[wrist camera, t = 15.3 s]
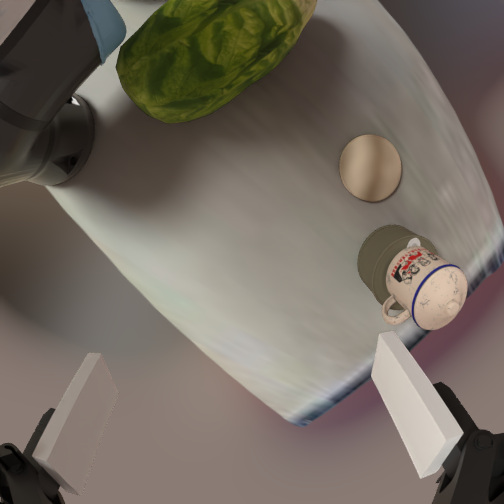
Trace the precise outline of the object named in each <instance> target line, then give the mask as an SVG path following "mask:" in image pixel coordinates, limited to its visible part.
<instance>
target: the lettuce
mask: <svg viewBox="0 0 504 504" xmlns="http://www.w3.org/2000/svg"><path fill="white" fill-rule="evenodd" d="M316 3H317V0H169V1H167V2H166V3H165V4H164V5H163V6H161V7H160V8H159V9H158V10H156V11H155V12H154V13H153V14H152V15H151V16H150V17H149V18H148V20H147V21H146V22H145V23H144V24H143V25H142V26H141V27H140V28H139V29H138V31H136V32H135V33H134V34H133V35H132V36H131V37H130V38H129V39H128V40H127V41H126V42H125V43H124V44H123V45H122V46H121V47H120V51H119V55H118V59H117V64H116V70H117V73H118V76H119V79H120V82H121V85H122V88H123V89H124V91H125V92H126V94H127V95H128V96H129V97H130V98H131V100H132V101H133V102H134V103H135V104H136V105H137V106H138V107H139V108H140V109H141V110H142V111H143V112H144V113H146V114H147V115H149V116H151V117H153V118H155V119H158V120H160V121H162V122H164V123H168V124H171V123H179V122H189V121H192V120H195V119H197V118H200V117H203V116H206V115H209V114H212V113H213V112H215V111H216V110H218V109H219V108H221V107H222V106H224V105H225V104H227V103H229V102H230V101H231V100H232V99H233V98H235V97H236V96H237V95H238V94H239V93H241V92H242V91H243V90H244V89H246V88H247V87H248V86H250V85H251V84H253V83H254V82H256V81H257V80H259V79H261V78H262V77H264V76H265V75H267V74H268V73H269V72H270V71H271V70H273V69H274V68H275V67H276V66H277V65H278V64H279V63H280V62H281V61H282V60H283V59H284V58H285V57H286V55H287V54H288V53H289V52H290V50H291V49H292V48H293V46H294V45H295V43H296V42H297V40H298V38H299V36H300V34H301V32H302V30H303V28H304V27H305V25H306V24H307V22H308V21H309V19H310V18H311V17H312V15H313V12H314V10H315V7H316Z"/></svg>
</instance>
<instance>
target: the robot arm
mask: <svg viewBox="0 0 504 504" xmlns="http://www.w3.org/2000/svg"><path fill="white" fill-rule="evenodd" d="M125 36H126V25H125V23H124V21H123V19H122V17H121V16H120V14H119V13H118V11H117V10H116V8H115V7H114V5H113V4H112V3H111V1H110V0H0V187H3V186H6V185H9V184H13V183H17V182H21V181H24V180H27V181H30V182H33V183H37V184H40V185H55V184H59V183H62V182H65V181H67V180H69V179H71V178H72V177H73V176H75V175H76V174H77V173H78V172H79V171H80V170H81V168H82V167H83V166H84V164H85V162H86V161H87V159H88V157H89V154H90V152H91V149H92V145H93V140H94V122H93V117H92V113H91V111H90V109H89V107H88V105H87V104H86V102H85V101H84V100H83V99H82V98H81V97H79V96H78V95H76V94H74V93H75V91H76V90H77V89H78V88H79V87H80V86H81V85H82V84H83V82H84V81H85V80H86V79H87V78H88V77H89V76H90V75H91V74H92V73H93V72H94V71H95V70H96V68H97V67H98V66H99V65H101V66H102V65H103V64H104V63H105V61H106V58H107V57H108V56H109V55H110V54H111V53H112V52H113V51H114V50H115V49H116V48H117V47H118V46H119V45H120V44H121V43H122V42H123V40H124V38H125ZM371 377H372V379H373V381H374V383H375V385H376V387H377V389H378V391H379V393H380V395H381V397H382V399H383V401H384V403H385V405H386V407H387V409H388V411H389V413H390V415H391V417H392V419H393V421H394V423H395V425H396V427H397V429H398V431H399V433H400V436H401V438H402V440H403V442H404V444H405V446H406V448H407V450H408V453H409V455H410V457H411V459H412V461H413V463H414V466H415V468H416V470H417V472H418V474H419V476H420V478H423V477H426V476H428V475H431V474H433V473H435V472H437V471H438V469H439V468H440V467H441V465H443V467H444V469H445V471H444V472H443V473H442V475H441V476H440V477H439V478H438V480H437V482H436V483H439V481H440V480H441V481H440V484H439V486H438V489H437V492H436V494H435V497H434V500H433V502H432V504H504V433H501V434H492V433H491V432H490V431H487V430H480V429H478V427H477V426H476V425H475V423H474V421H473V420H472V418H471V417H470V416H469V414H468V413H467V411H466V410H465V408H464V407H463V406H462V405H461V403H460V401H459V400H458V398H456V396H455V394H454V393H453V391H452V390H451V389H450V388H449V387H448V386H446V385H445V384H443V383H442V382H439V383H436V384H433V385H432V384H431V382H430V381H429V379H428V378H427V376H426V375H425V374H424V372H423V371H422V369H421V368H420V367H419V365H418V364H417V362H416V361H415V360H414V358H413V357H412V355H411V354H410V353H409V351H408V350H407V348H406V347H405V346H404V344H403V343H402V342H401V340H400V339H399V337H398V336H397V335H396V333H395V332H394V331H389V332H383V333H379V338H378V343H377V349H376V354H375V359H374V364H373V369H372V374H371ZM118 394H119V393H118V391H117V389H116V387H115V385H114V382H113V380H112V378H111V375H110V373H109V371H108V369H107V366H106V364H105V361H104V359H103V356H102V354H101V353H88V355H87V356H86V358H85V360H84V361H83V363H82V364H81V366H80V368H79V369H78V371H77V373H76V375H75V376H74V378H73V380H72V381H71V383H70V385H69V387H68V389H67V390H66V392H65V394H64V395H63V397H62V399H61V401H60V403H59V404H58V406H57V408H56V409H53V408H50V409H49V410H48V411H47V412H46V413H45V414H44V415H43V416H42V418H41V420H40V422H39V425H38V426H37V427H36V429H35V432H34V433H33V435H32V437H31V439H30V441H29V443H28V444H27V446H26V449H25V450H24V452H23V454H22V453H21V452H20V451H19V449H18V448H17V447H16V446H15V445H13V444H11V443H5V444H2V445H0V497H1V502H0V504H65V502H64V500H63V497H62V495H61V493H60V492H59V491H58V489H59V487H60V486H61V487H62V488H63V489H64V490H65V491H66V492H68V493H72V494H76V495H79V496H82V494H83V491H84V488H85V485H86V481H87V478H88V475H89V472H90V469H91V467H92V463H93V461H94V458H95V455H96V452H97V449H98V447H99V444H100V441H101V438H102V436H103V433H104V430H105V428H106V425H107V422H108V420H109V417H110V414H111V412H112V409H113V407H114V404H115V402H116V399H117V397H118Z"/></svg>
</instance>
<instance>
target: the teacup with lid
mask: <svg viewBox="0 0 504 504" xmlns="http://www.w3.org/2000/svg"><path fill="white" fill-rule="evenodd" d="M386 285H387V289H388V291H389V293H390V294H391V295H392V296H390V297H389V298H388V299H387V300H386V301H385V302H384V304H383V306H382V316H383V318H384V320H385V321H386V322H387V323H388V324H391V325H396V324H400V323H402V322H404V321H405V320H407V319H408V318H409V317H410V316H412V317H413V320H414V322H415V323H416V324H417V325H418V326H419V327H421V328H423V329H426V330H435V329H439V328H441V327H443V326H445V325H447V324H448V323H449V322H450V321H452V320H453V319H454V318H455V316H456V315H457V314H458V313H459V311H460V310H461V308H462V306H463V304H464V301H465V299H466V295H467V280H466V277H465V275H464V273H463V271H462V270H461V269H460V268H459V267H458V266H456V265H452V264H449V263H448V262H446V261H445V260H443V259H442V258H440V257H438V256H437V255H435V254H434V253H432V252H430V251H429V250H427V249H425V248H424V247H421V246H410V247H407V248H405V249H403V250H402V251H400V252H399V253H398V254H397V255H396V256H395V257H394V259H393V260H392V261H391V263H390V265H389V267H388V270H387V274H386ZM395 302H398V303H399V304H400V305H401V306H402V307H403V308H404V309H405V311H403V312H402V313H401V314H399V315H397V316H388V311H389V308H390V307H391V306H392V305H393V304H394V303H395Z"/></svg>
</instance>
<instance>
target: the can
mask: <svg viewBox="0 0 504 504" xmlns="http://www.w3.org/2000/svg"><path fill="white" fill-rule="evenodd" d="M410 246H421V247H424V248H425V249H427V250H429V251H430V252H432V253H434V254H435V255H437V256H438V254H437V251H436V249H435V247H434V246H433V244H432V243H431V242H430V241H429V240H427V239H426V238H424V237H422V236H419V235H416V234H415V233H413V232H411V231H409V230H407V229H406V228H404V227H402V226H399V225H387V226H383V227H381V228H379V229H377V230H375V231H374V232H373V233H371V234H370V235H369V236H368V238H367V239H366V240H365V242H364V243H363V245H362V247H361V249H360V252H359V255H358V263H357V264H358V272H359V275H360V277H361V279H362V280H363V282H364V283H365V284H366V285H367V286H368V288H369V289H370V290H371V291H372V293H373V294H374V296H375V298H376V299H377V301H378V302H379V303H380V304H381V305H383V304H384V302H385V301H386V300H387V299H388V298H389V297H390V296H392V295H391V294H390V293H389V291H388V289H387V285H386V274H387V270H388V267H389V265H390V263H391V261H392V260H393V259H394V257H395V256H396V255H397V254H398V253H399V252H400V251H402V250H403V249H405V248H407V247H410ZM389 309H392V310H402V309H404V308H403V307H402V306H401V305H400V304H399V303H398V302H395V303H394V304H393V305H392V306H391V307H390V308H389Z"/></svg>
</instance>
